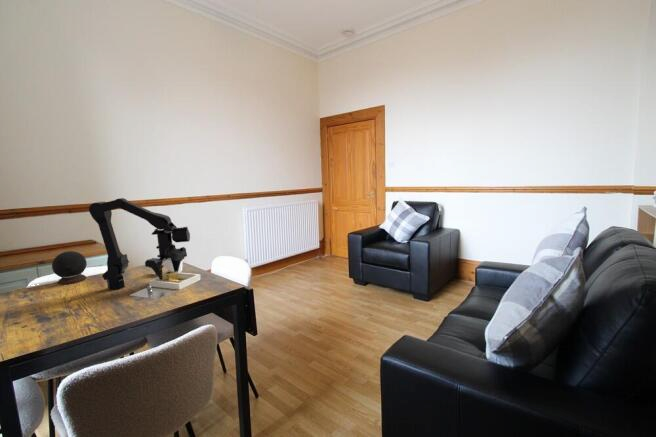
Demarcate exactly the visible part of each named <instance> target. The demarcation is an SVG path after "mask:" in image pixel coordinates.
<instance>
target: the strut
mask: <svg viewBox="0 0 656 437" xmlns="http://www.w3.org/2000/svg"><path fill="white" fill-rule="evenodd" d="M162 274H163V279H162V280H161V281H164V282H174V283H180V282H182V281H184V280H187V279H179V278H178V274H177V271H168V270H167V271H165V272H162Z"/></svg>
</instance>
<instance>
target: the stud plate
mask: <svg viewBox="0 0 656 437" xmlns="http://www.w3.org/2000/svg"><path fill="white" fill-rule="evenodd" d="M174 292H175V289H166V288H157V287H152V286H150V285H147V286H146V287H145V288H143V289H141V290H137V291H135V292H134V293H131V294H129V296H131V297H140V298H147V299H154V300H159V299H161V298H163V297H166V296H167V295H168V296H169V295H170V294H173V293H174Z"/></svg>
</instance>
